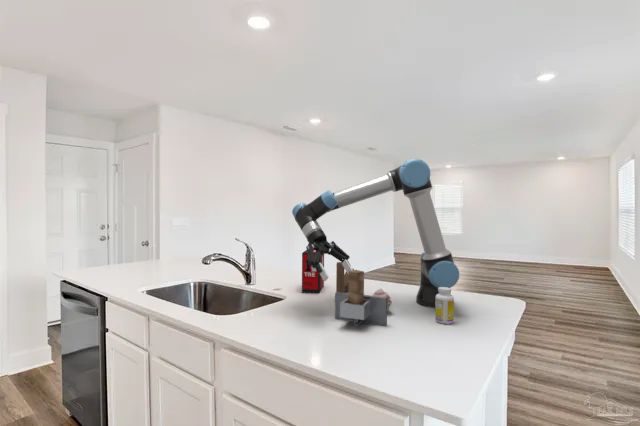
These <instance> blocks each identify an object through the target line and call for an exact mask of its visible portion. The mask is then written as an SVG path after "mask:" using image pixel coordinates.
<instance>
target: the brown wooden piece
mask: <svg viewBox="0 0 640 426" xmlns="http://www.w3.org/2000/svg"><path fill="white" fill-rule="evenodd" d="M342 263H343V262H341V261H337V262H336V275H335V277H336V284H335V285H336V289H335V293H336V292H344V293H348V277H349V275H348V273H347V272H346V271H345V268H344V267H343V265H342ZM352 269H353V270H355V268H352Z"/></svg>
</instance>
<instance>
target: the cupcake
mask: <svg viewBox="0 0 640 426" xmlns="http://www.w3.org/2000/svg"><path fill="white" fill-rule="evenodd" d="M371 296H378V297H387V315H388V314H389V312H390V308H391V306H392V304H393V301H392V300H391V297H390V295H389V294H388V292H386V291H384V289H383V288H382V287H381V288H378V289H376V291H375V292H374V293H373V294H372V295H371Z"/></svg>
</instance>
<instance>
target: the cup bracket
mask: <svg viewBox="0 0 640 426" xmlns="http://www.w3.org/2000/svg"><path fill="white" fill-rule="evenodd" d="M334 319H337V320H343V321H349V322H354V326H359V325H360V324H361V323H363V324H369V325H370V324H371V325H378V326H384V327H386V326H387V325H388V314H387V297H378V296H372V295H369V294H364V304H363V305H360V304H352V303H348V293H344V292H336V291H335V292H334Z"/></svg>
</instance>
